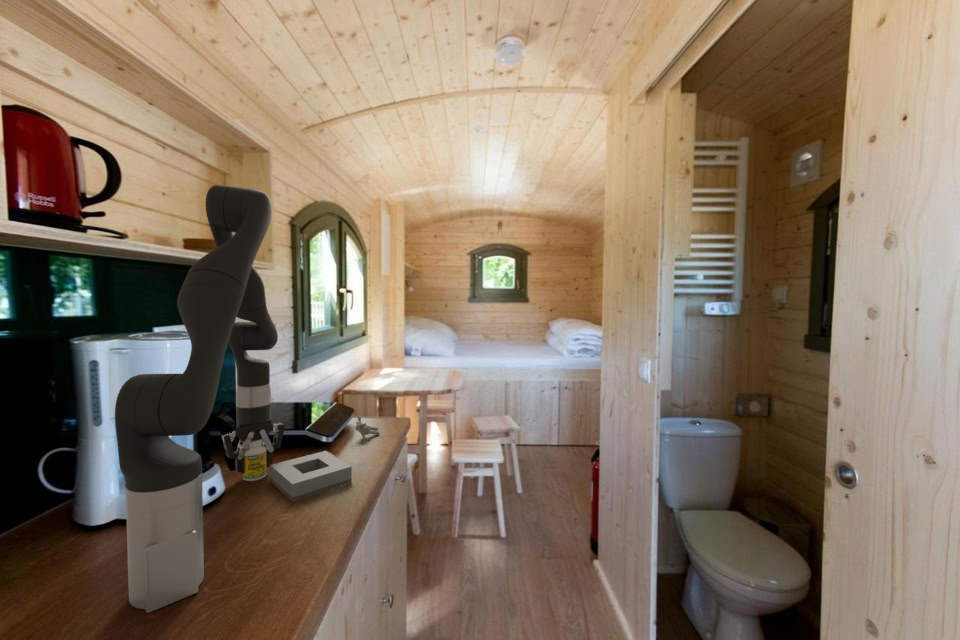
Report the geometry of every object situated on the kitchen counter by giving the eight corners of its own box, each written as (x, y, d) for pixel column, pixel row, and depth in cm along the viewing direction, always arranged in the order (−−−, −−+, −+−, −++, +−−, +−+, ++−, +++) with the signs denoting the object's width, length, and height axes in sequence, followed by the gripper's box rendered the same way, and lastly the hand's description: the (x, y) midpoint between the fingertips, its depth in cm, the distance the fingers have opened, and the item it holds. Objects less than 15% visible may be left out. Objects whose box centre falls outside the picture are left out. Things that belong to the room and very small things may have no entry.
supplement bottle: (263, 470, 106) (262, 434, 105) (269, 477, 102) (269, 439, 102) (239, 476, 102) (239, 438, 102) (245, 483, 98) (245, 444, 98)
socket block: (351, 482, 100) (351, 466, 100) (292, 501, 90) (292, 484, 90) (325, 465, 110) (325, 450, 110) (270, 481, 100) (270, 465, 100)
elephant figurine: (387, 439, 131) (364, 436, 125) (376, 450, 133) (352, 447, 127) (379, 413, 138) (357, 409, 131) (368, 424, 139) (346, 420, 133)
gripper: (224, 410, 93) (225, 483, 94) (289, 400, 104) (290, 466, 105) (216, 404, 99) (217, 473, 100) (279, 395, 109) (279, 457, 110)
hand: (254, 469), depth 102 cm, fingers closed on supplement bottle, 5 cm apart
